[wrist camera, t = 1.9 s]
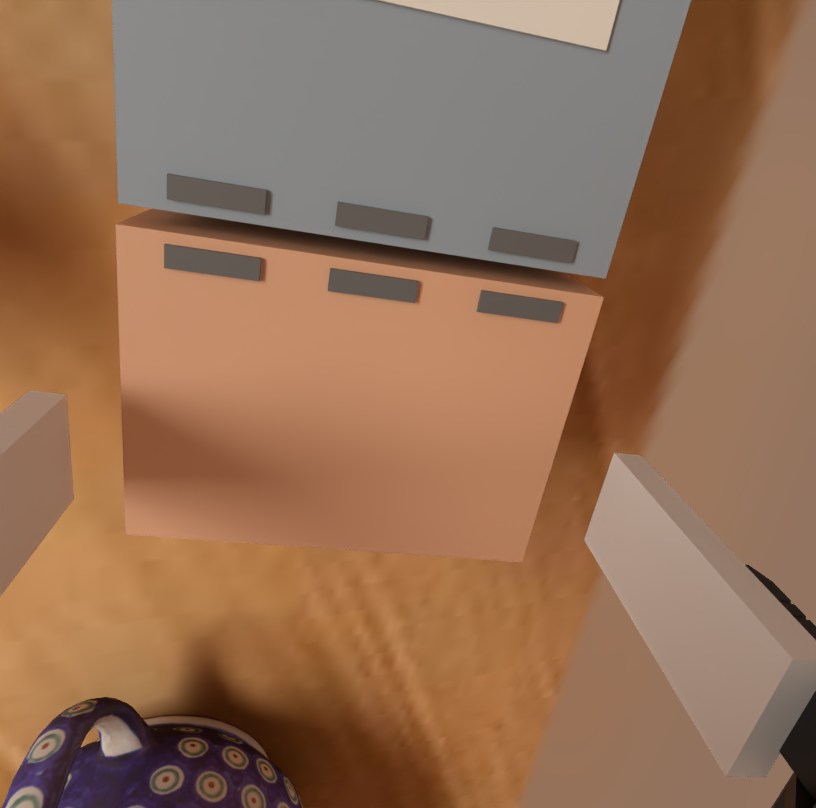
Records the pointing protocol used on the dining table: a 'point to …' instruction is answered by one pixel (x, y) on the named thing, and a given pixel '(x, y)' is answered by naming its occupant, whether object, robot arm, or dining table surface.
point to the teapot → (146, 764)
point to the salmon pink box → (339, 389)
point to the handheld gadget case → (397, 118)
